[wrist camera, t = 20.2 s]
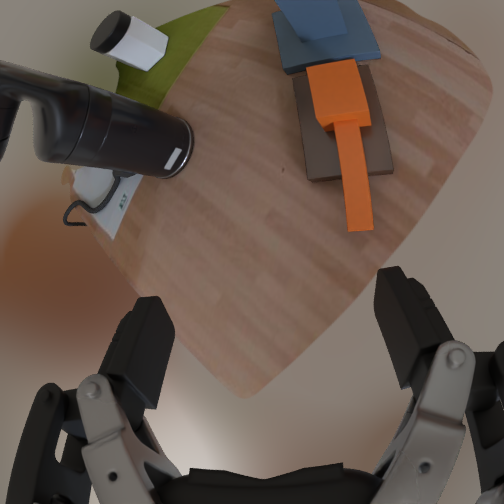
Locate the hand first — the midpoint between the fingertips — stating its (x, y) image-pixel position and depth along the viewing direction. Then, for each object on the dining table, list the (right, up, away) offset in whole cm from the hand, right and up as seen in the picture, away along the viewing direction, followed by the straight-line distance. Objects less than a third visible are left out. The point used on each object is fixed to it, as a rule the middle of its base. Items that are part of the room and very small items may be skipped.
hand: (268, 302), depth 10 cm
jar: (-19, +39, +30) cm, 52 cm away
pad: (+9, +16, +17) cm, 25 cm away
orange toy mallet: (+9, +12, +16) cm, 22 cm away
